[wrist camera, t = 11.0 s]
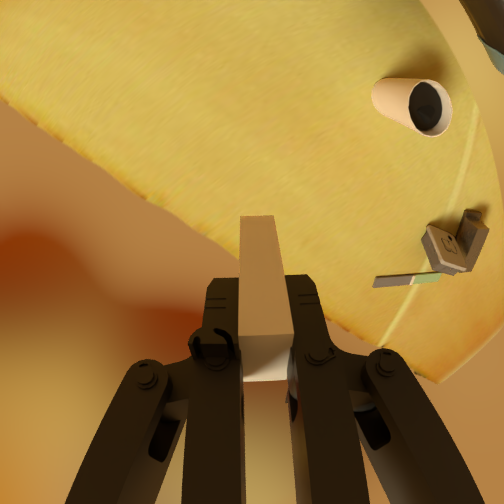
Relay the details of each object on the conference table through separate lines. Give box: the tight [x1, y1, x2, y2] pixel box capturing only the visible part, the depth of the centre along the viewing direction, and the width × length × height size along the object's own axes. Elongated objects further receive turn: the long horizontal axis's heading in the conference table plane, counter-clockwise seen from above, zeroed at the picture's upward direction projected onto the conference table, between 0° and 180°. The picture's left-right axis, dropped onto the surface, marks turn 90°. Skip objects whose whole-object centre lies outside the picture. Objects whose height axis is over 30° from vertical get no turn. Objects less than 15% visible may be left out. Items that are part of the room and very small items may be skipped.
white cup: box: [371, 78, 453, 138], centre depth 25 cm, size 7×7×10 cm
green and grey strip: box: [373, 272, 442, 288], centre depth 48 cm, size 2×17×1 cm, turn 91°
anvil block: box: [455, 210, 489, 273], centre depth 41 cm, size 12×5×5 cm, turn 1°
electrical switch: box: [421, 225, 467, 276], centre depth 40 cm, size 8×5×8 cm, turn 75°
